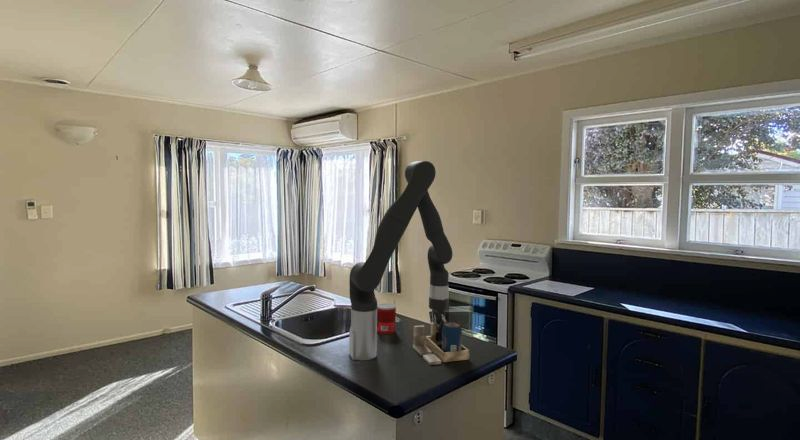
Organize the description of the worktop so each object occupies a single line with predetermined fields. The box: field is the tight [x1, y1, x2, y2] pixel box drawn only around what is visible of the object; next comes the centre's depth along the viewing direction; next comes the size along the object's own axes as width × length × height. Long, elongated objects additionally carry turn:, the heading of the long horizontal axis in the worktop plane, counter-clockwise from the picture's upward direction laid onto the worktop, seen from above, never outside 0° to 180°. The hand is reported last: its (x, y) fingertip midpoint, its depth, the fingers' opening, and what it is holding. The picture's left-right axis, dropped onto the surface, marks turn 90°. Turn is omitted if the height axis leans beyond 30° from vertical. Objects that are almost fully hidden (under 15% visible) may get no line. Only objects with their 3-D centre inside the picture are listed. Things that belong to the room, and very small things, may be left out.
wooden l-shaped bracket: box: [412, 324, 442, 366], centre depth 151 cm, size 4×17×8 cm, turn 18°
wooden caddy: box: [424, 322, 470, 363], centre depth 153 cm, size 10×17×8 cm, turn 18°
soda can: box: [441, 321, 463, 352], centre depth 149 cm, size 7×7×12 cm
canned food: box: [377, 302, 397, 335], centre depth 175 cm, size 8×8×11 cm
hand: (437, 340), depth 161 cm, fingers closed on wooden caddy
